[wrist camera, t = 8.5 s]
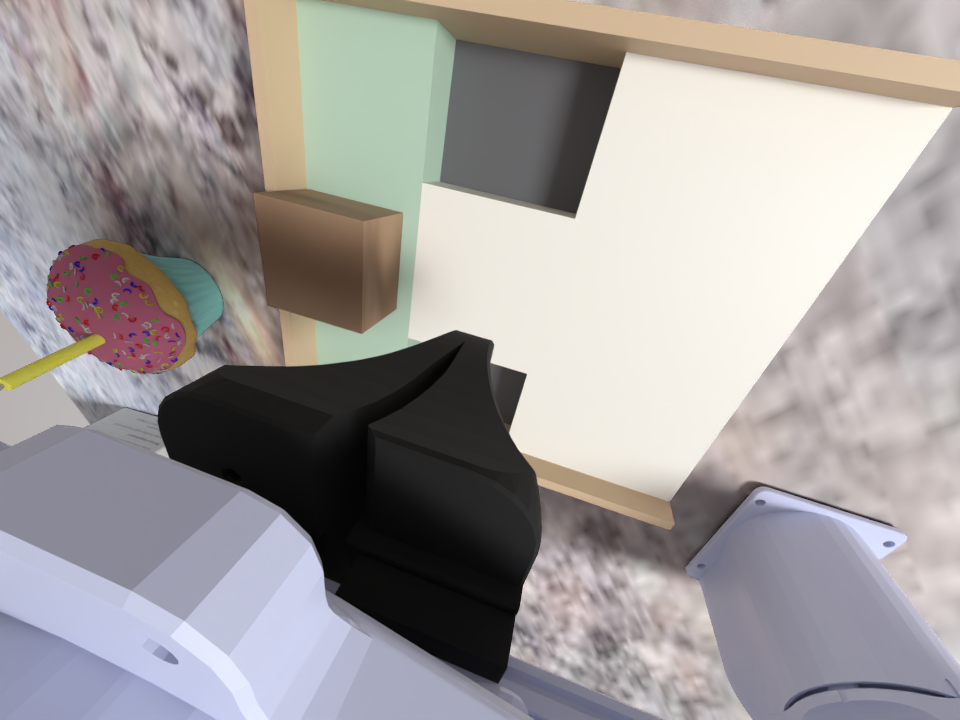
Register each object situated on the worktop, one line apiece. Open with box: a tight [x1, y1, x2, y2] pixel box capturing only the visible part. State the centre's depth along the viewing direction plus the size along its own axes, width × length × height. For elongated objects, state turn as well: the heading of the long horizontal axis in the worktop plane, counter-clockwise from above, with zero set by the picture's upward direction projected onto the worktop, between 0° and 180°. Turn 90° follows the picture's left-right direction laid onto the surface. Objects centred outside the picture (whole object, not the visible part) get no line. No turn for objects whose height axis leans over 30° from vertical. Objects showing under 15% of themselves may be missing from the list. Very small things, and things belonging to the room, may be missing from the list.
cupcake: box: [0, 239, 223, 390], centre depth 21 cm, size 9×8×12 cm
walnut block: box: [253, 189, 403, 334], centre depth 17 cm, size 5×5×4 cm
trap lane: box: [244, 0, 960, 530], centre depth 17 cm, size 20×24×4 cm
